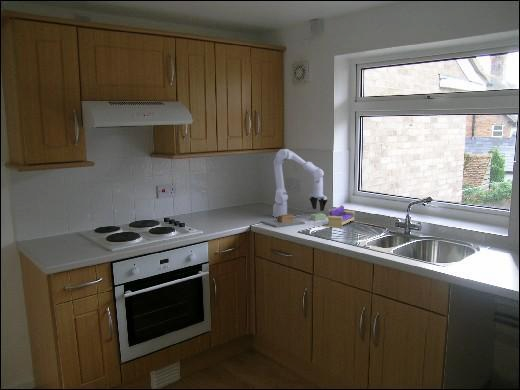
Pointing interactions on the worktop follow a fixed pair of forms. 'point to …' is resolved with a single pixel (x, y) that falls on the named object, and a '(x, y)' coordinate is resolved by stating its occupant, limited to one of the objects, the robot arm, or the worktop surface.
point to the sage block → (317, 217)
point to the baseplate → (279, 224)
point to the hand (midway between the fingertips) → (318, 209)
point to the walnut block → (285, 218)
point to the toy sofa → (340, 217)
